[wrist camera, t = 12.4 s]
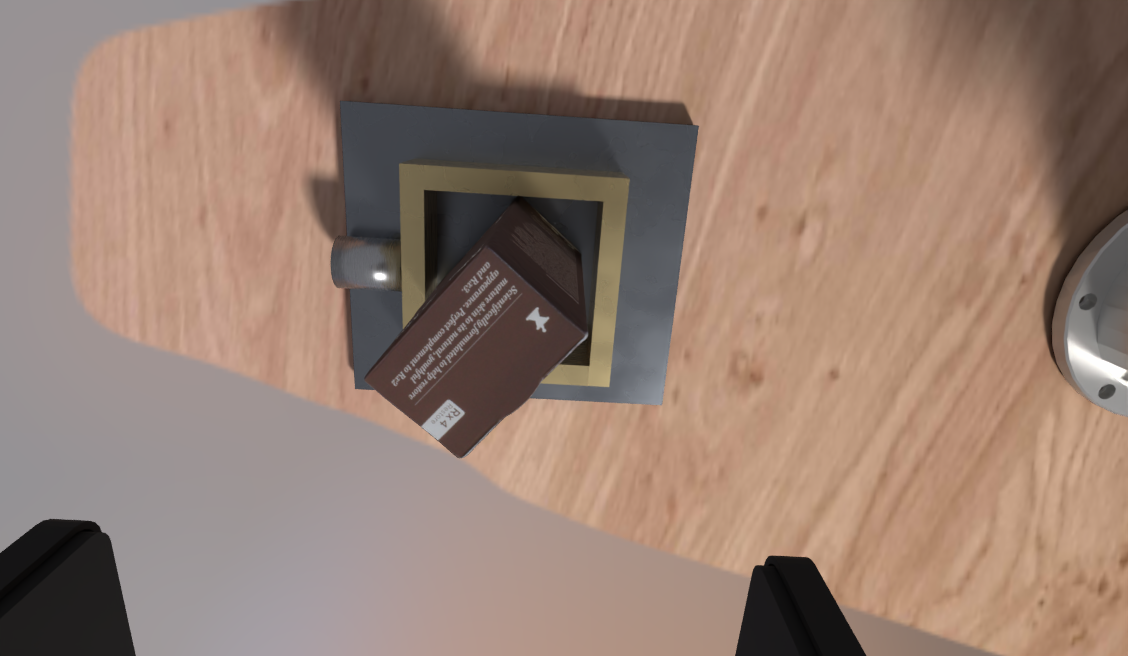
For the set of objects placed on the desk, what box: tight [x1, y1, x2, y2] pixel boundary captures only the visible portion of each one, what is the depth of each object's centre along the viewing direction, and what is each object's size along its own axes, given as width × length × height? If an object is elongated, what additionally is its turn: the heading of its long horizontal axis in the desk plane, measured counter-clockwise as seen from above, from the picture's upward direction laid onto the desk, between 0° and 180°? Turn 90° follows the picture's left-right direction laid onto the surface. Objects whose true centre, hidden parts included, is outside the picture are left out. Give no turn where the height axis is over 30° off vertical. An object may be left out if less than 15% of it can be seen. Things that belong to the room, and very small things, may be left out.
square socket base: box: [331, 101, 699, 405], centre depth 29 cm, size 16×14×4 cm
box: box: [364, 196, 588, 458], centre depth 24 cm, size 6×4×12 cm
